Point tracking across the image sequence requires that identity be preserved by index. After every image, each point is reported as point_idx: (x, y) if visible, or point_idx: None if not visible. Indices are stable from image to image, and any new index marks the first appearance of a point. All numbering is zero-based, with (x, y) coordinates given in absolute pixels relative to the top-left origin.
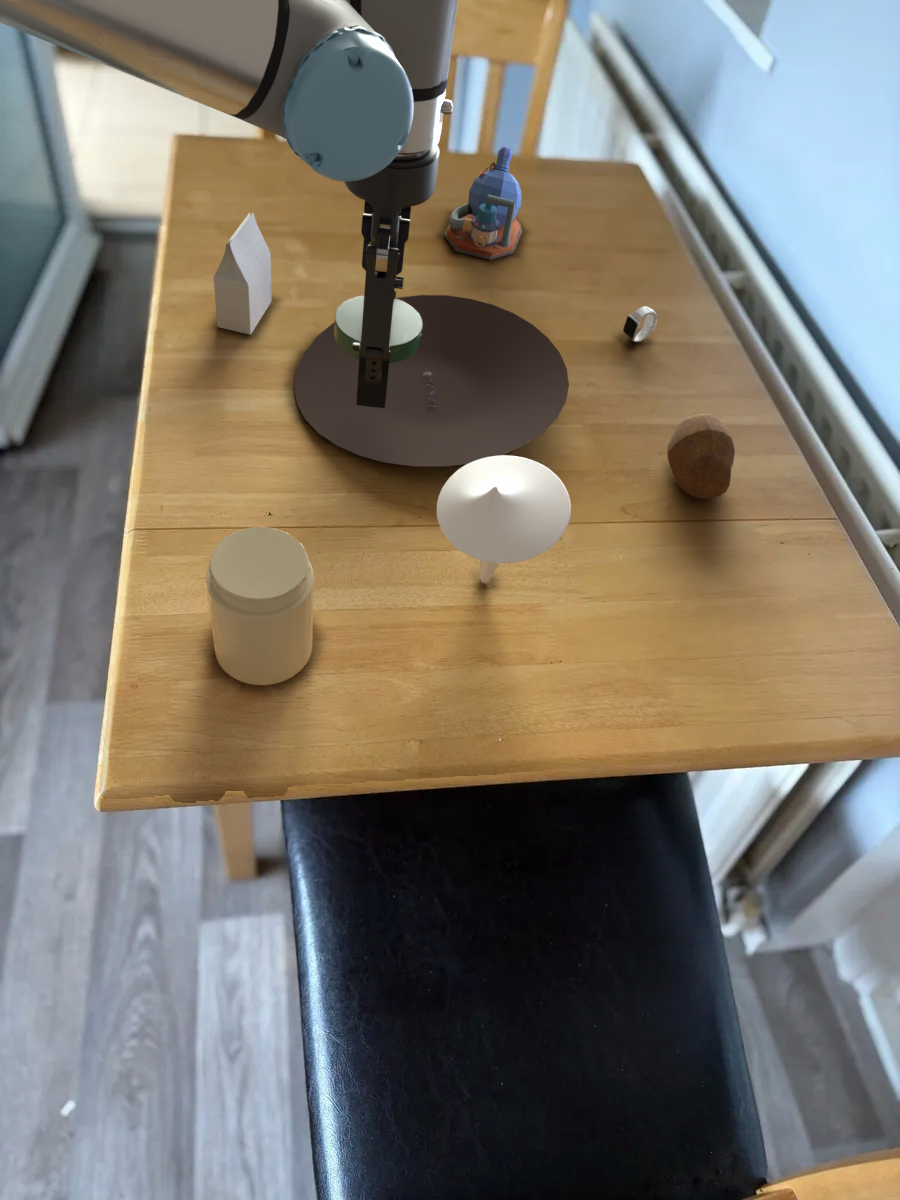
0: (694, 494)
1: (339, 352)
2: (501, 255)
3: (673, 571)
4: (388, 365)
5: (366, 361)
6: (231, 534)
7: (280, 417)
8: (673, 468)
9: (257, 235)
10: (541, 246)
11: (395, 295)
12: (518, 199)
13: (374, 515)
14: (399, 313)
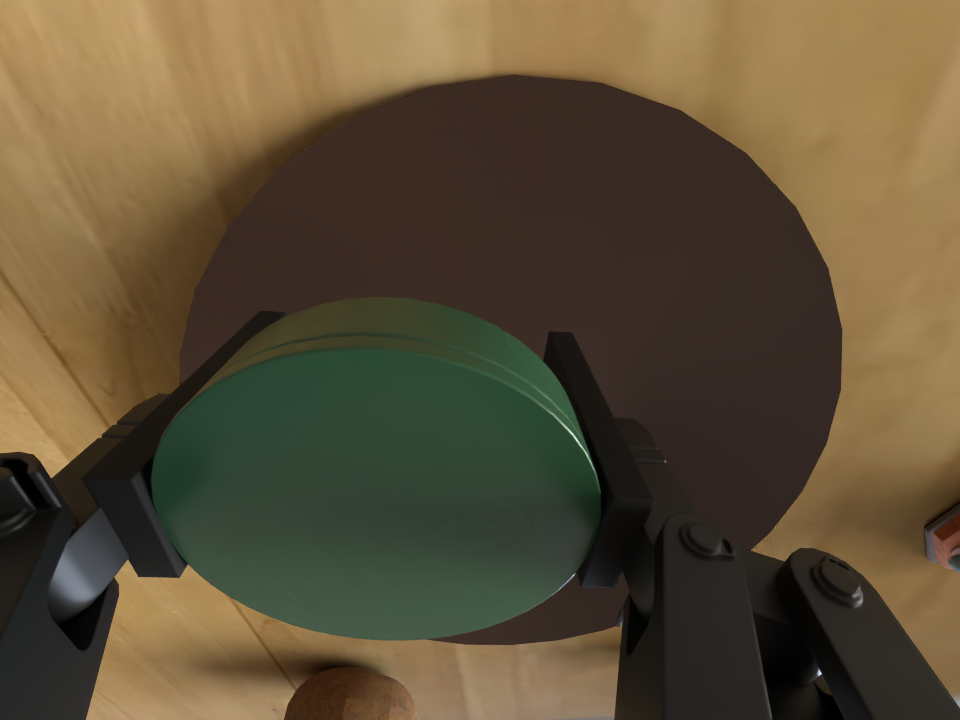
0: (296, 690)
1: (661, 227)
2: (928, 546)
3: (177, 646)
4: None
5: (56, 476)
6: None
7: (348, 28)
8: (326, 690)
9: None
10: (926, 589)
11: (583, 586)
12: None
13: (62, 310)
14: (455, 590)
